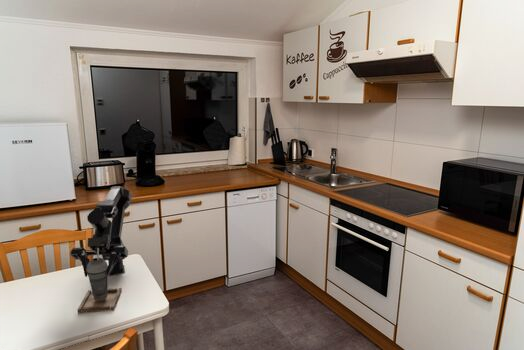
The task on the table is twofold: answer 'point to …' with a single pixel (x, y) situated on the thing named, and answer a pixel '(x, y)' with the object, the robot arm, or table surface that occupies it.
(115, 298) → the walnut tray
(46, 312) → the table surface
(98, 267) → the beverage cup
